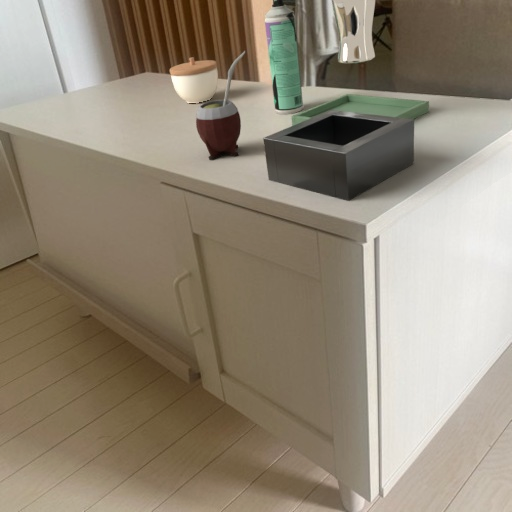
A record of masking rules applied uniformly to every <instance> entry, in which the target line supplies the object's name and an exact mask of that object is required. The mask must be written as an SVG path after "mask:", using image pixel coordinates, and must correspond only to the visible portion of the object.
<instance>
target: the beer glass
mask: <svg viewBox="0 0 512 512" xmlns="http://www.w3.org/2000/svg"><path fill="white" fill-rule="evenodd" d="M331 5H332V11H333V15H334V19H335V24H336V29H337V33H338V54H337V62H338V63H340V64H358V63H365V62H369V61H371V60H373V59H375V58H376V54H375V49H374V43H373V23H374V15H375V14H374V13H375V9H376V8H375V7H376V0H331Z"/></svg>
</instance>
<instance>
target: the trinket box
mask: <svg viewBox="0 0 512 512" xmlns="http://www.w3.org/2000/svg"><path fill="white" fill-rule="evenodd" d="M188 60H189V62H185V63H181V64H177V65H174V66H172V67H170V68H169V74H170V77H171V81H172V85H173V88H174V90H175V92H176V94H177V95H178V96H179V98H181V99H182V100H183V101H185V102H187V103H186V104H189V103H196V104H200V103H199V102H202V103H204V102H203V101H206V102H208V101H207V100H209V101H211V100H212V99H213V96H214V95H215V93H216V92H217V89H218V87H219V72H218V62H217V61H216V60H211V59H206V60H205V59H204V60H195V57H194V56H193V57H189V59H188ZM211 98H212V99H211ZM210 99H211V100H210Z"/></svg>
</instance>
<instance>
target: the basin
mask: <svg viewBox="0 0 512 512" xmlns="http://www.w3.org/2000/svg"><path fill="white" fill-rule="evenodd" d="M262 139H263V146H264V147H263V148H264V155H265V164H266V171H267V178H268V181H272V182H276V183H279V184H283V185H287V186H290V187H295V188H299V189H303V190H305V191H309V192H314V193H318V194H320V195H321V194H322V195H325V196H329V197H333V198H336V199H341V200H344V201H347V202H349V201H350V200H352V199H354V198H356V197H357V196H360V195H361V194H363V193H364V192H366V191H368V190H370V189H372V188H374V187H375V186H377V185H379V184H380V183H382V182H383V181H386V180H388V179H389V178H391V177H392V176H394V175H396V174H398V173H400V172H402V171H403V170H405V169H406V168H408V167H410V166H412V165H413V164H415V119H405V118H397V117H389V116H380V115H372V114H363V113H355V112H346V111H337V110H330V111H327V112H325V113H322V114H320V115H318V116H315V117H313V118H310V119H308V120H305V121H303V122H301V123H298V124H296V125H293V126H292V125H291V126H289V127H287V128H283V129H282V130H279V131H277V132H274V133H272V134H269V135H267V136H265V137H263V138H262Z"/></svg>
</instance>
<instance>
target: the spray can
mask: <svg viewBox="0 0 512 512" xmlns="http://www.w3.org/2000/svg"><path fill="white" fill-rule="evenodd" d="M264 18H265V19H264V27H265V35H266V36H265V37H266V43H267V52H268V53H267V54H268V60H269V68H270V69H269V70H270V76H271V86H272V95H273V103H274V110H275V113H276V114H279V115H291V114H295V113H296V114H297V113H300V112H302V111H303V110H304V101H303V90H302V80H301V79H302V78H301V69H300V58H299V47H298V38H297V37H298V36H297V25H296V16H295V11H294V10H292V9H290V8H288V7H287V4H285V3H284V0H272V5H271V7H270V10H268V11H267V13H266V14H264Z"/></svg>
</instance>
